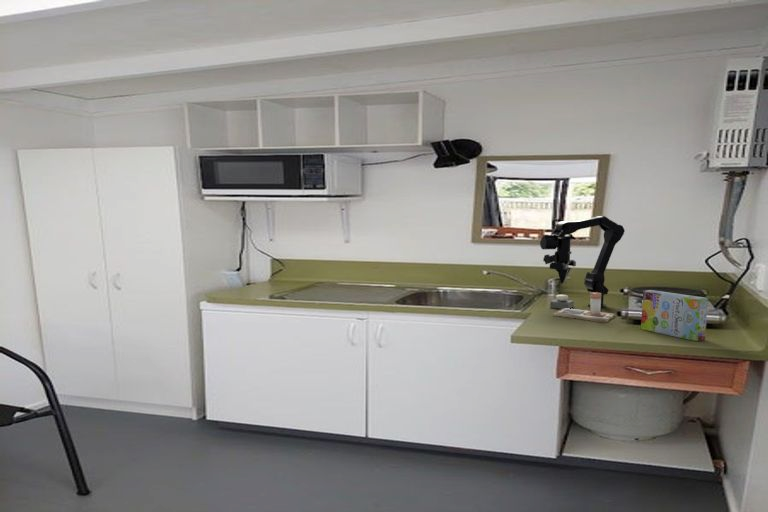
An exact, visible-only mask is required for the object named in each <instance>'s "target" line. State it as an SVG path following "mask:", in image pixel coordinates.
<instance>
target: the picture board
mask: <svg viewBox="0 0 768 512" xmlns="http://www.w3.org/2000/svg"><path fill="white" fill-rule="evenodd" d="M553 315H554V316H553V317H559V316H561V317H560V318H566V317H569V318H568V319H574V318H576V320H582V319H583V321H589V320H590V321H591V322H597V323H607V322H609V321H610V320H611V319H613V318H614V317H615V316H616V313H613V312H612V313H611V312H610V313H609V312H604V311H603V312H602V311H600V315H591V314H590V310H587V309H578V308H571V309H570V308H564V309H559V310H558V311H555V312H554V313H553Z"/></svg>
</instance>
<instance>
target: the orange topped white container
mask: <svg viewBox="0 0 768 512" xmlns="http://www.w3.org/2000/svg"><path fill="white" fill-rule="evenodd" d="M590 300H591V302H590V303H589V304H590V306H589V307H590V309H589V311H590V314H591V315H600V312H602V311H601V293H598V292H590Z"/></svg>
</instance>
